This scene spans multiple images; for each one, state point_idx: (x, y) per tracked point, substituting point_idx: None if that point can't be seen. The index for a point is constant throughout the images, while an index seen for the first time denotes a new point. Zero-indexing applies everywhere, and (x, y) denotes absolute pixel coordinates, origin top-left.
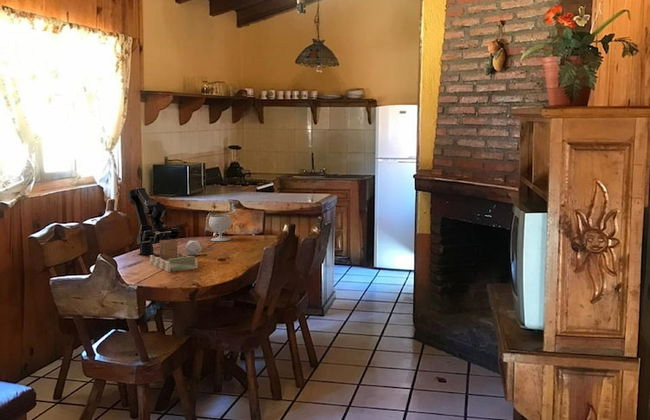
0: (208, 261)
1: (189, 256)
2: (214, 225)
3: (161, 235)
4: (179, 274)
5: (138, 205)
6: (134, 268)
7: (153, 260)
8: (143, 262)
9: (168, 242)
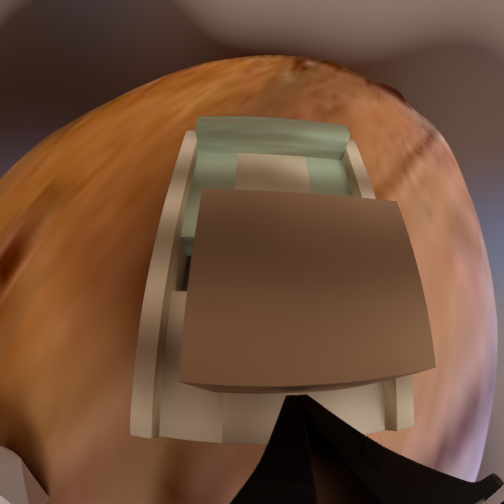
0: (54, 268)
1: (167, 203)
2: None
3: (412, 497)
4: None
5: None
6: (466, 335)
7: None
8: None
9: (336, 201)
